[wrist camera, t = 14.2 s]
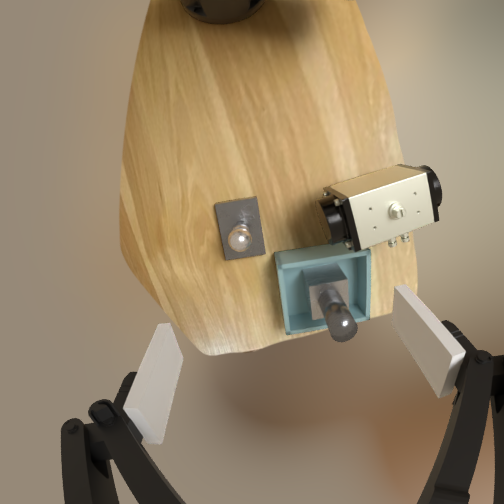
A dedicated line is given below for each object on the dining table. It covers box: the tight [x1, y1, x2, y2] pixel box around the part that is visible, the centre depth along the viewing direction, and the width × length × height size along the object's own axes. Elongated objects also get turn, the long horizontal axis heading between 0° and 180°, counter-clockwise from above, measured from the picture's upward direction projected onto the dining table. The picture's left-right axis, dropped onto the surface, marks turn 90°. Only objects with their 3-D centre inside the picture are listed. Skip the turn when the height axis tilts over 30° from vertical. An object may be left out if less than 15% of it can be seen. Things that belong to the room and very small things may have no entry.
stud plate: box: [215, 196, 266, 260], centre depth 48 cm, size 10×7×9 cm
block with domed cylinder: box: [302, 263, 358, 342], centre depth 48 cm, size 7×7×16 cm
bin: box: [274, 242, 371, 335], centre depth 53 cm, size 14×16×6 cm
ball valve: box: [315, 164, 442, 252], centre depth 42 cm, size 18×8×18 cm, turn 110°
